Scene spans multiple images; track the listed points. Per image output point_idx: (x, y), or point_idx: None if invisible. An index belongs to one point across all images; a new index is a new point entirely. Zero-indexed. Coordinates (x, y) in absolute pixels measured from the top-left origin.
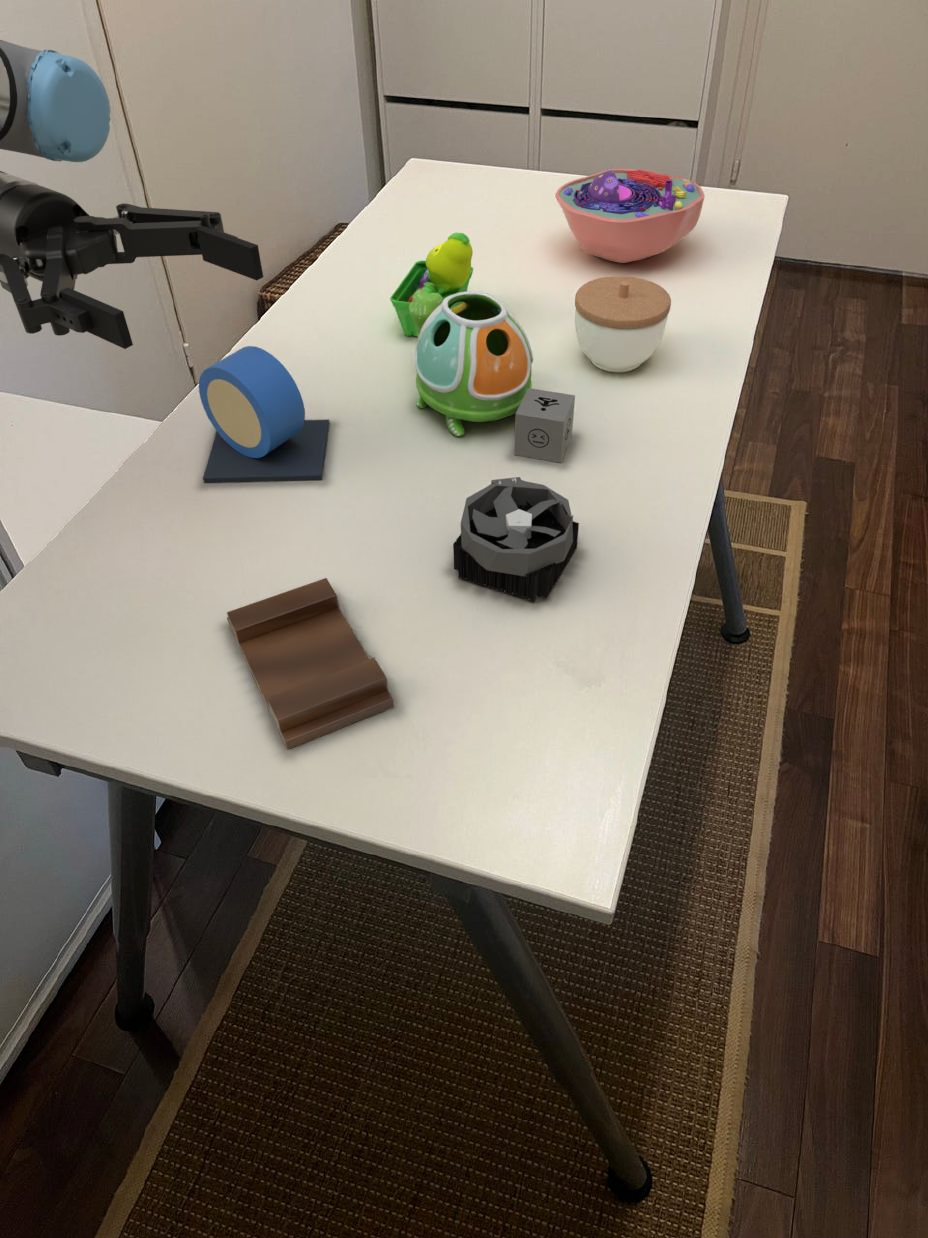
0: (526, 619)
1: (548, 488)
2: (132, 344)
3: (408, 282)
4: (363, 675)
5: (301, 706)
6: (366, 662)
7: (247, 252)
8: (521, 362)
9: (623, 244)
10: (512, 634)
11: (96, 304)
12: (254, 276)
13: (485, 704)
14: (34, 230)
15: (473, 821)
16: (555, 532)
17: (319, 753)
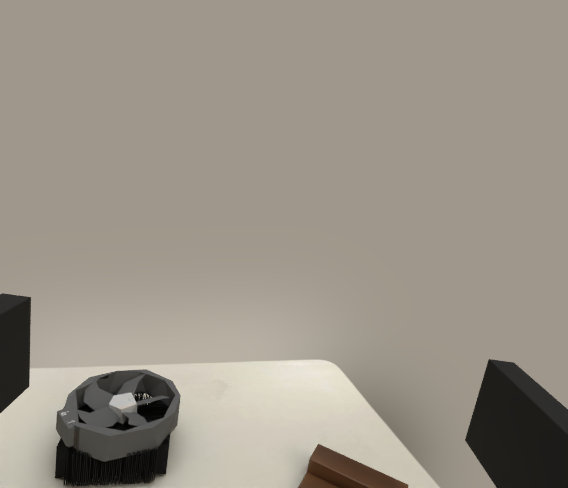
0: (188, 422)
1: (74, 390)
2: (466, 438)
3: None
4: (329, 456)
5: (385, 477)
6: (317, 461)
7: (20, 321)
8: None
9: None
10: (207, 424)
11: (565, 416)
12: (24, 382)
13: (274, 418)
14: None
15: (343, 399)
16: (130, 382)
17: None
